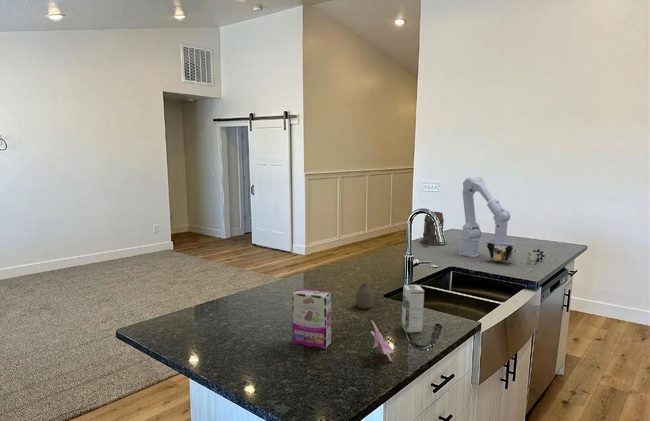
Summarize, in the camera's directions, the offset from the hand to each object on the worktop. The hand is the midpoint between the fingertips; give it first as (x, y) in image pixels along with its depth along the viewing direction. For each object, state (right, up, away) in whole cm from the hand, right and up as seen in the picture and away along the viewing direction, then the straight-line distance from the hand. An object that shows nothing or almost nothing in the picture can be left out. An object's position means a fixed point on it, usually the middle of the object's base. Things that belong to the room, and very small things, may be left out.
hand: (499, 258), depth 228 cm
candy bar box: (-96, -16, -95) cm, 136 cm away
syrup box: (-63, -14, -84) cm, 106 cm away
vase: (-78, -11, -64) cm, 101 cm away
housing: (+5, -1, +6) cm, 8 cm away
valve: (+19, -3, +1) cm, 19 cm away
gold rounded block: (+2, -2, +3) cm, 4 cm away
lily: (-76, -17, -104) cm, 130 cm away
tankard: (-25, +4, +45) cm, 52 cm away
